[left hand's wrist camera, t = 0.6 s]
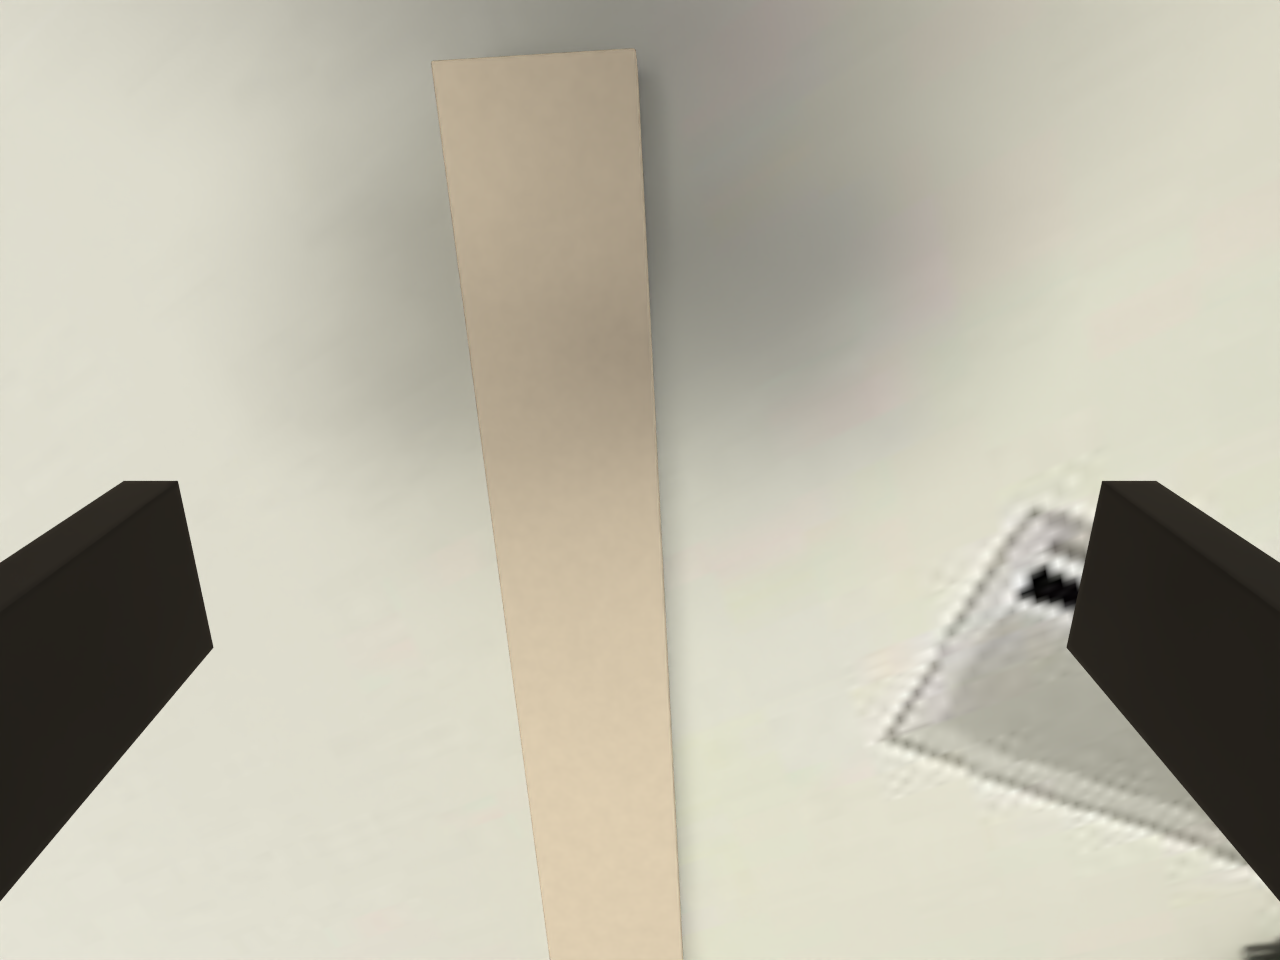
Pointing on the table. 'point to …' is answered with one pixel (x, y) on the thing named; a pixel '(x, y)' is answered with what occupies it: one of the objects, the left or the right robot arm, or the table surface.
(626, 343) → the beam
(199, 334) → the table surface
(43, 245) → the table surface
